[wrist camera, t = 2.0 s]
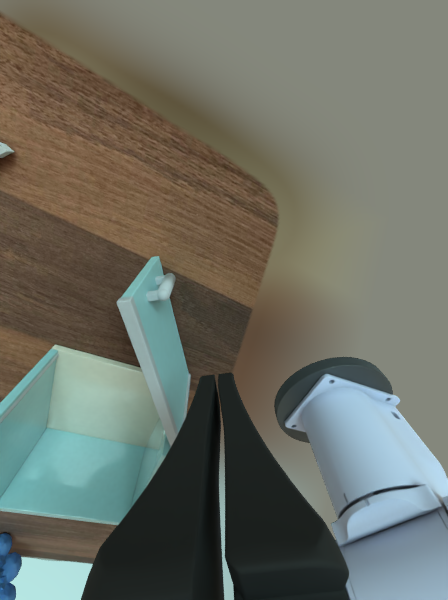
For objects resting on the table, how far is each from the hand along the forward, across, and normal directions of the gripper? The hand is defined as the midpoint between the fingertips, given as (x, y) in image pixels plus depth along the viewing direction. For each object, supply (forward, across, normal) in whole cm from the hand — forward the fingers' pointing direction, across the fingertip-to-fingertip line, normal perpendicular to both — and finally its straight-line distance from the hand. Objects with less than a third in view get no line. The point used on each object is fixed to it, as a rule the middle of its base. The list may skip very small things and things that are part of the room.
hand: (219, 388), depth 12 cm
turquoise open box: (+9, +13, +10) cm, 19 cm away
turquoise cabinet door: (+9, +3, +1) cm, 10 cm away
